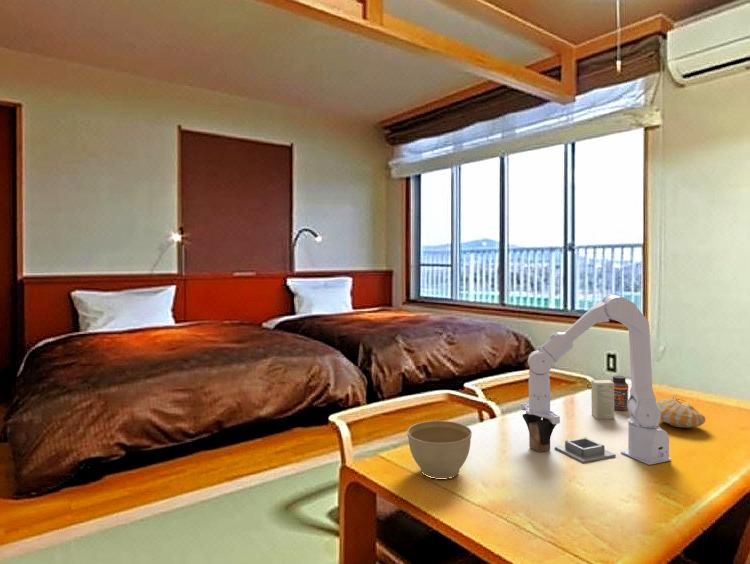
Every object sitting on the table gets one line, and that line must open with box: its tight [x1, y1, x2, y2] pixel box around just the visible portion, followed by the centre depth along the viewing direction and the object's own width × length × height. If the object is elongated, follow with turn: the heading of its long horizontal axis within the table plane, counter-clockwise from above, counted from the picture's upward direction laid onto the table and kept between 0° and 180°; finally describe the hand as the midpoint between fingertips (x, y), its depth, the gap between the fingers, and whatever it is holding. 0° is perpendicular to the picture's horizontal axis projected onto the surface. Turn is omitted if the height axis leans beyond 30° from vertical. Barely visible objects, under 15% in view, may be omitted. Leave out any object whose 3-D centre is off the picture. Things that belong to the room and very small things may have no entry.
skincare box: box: [590, 379, 615, 420], centre depth 174 cm, size 6×4×12 cm
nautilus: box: [656, 396, 706, 429], centre depth 166 cm, size 8×22×15 cm
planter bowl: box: [406, 420, 472, 478], centre depth 133 cm, size 16×16×11 cm
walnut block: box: [528, 422, 551, 453], centre depth 147 cm, size 4×4×7 cm
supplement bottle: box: [611, 375, 629, 412], centre depth 182 cm, size 6×6×11 cm
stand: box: [554, 437, 617, 464], centre depth 144 cm, size 11×11×3 cm
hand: (539, 441), depth 147 cm, fingers closed on walnut block, 4 cm apart
